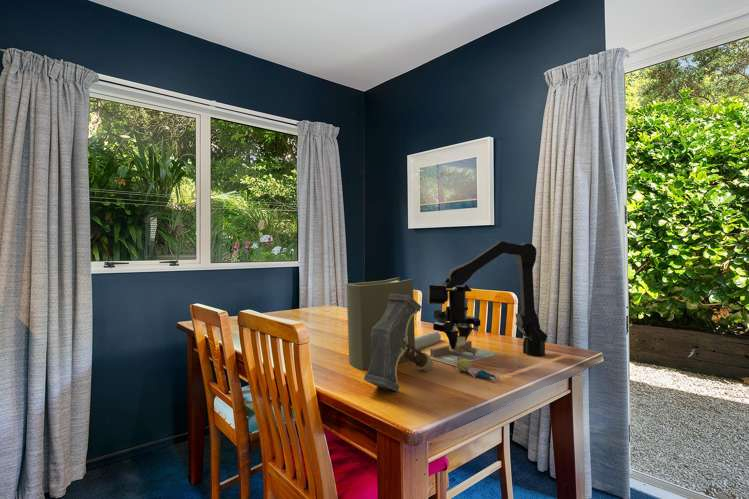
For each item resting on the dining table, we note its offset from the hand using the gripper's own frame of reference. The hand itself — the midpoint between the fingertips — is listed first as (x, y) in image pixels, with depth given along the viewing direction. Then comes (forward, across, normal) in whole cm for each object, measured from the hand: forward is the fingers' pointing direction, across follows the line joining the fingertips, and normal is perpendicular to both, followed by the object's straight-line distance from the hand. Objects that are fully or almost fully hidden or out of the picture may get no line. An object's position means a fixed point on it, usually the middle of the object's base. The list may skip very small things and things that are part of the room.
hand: (457, 348), depth 146 cm
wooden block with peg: (+1, 0, +3) cm, 3 cm away
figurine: (+4, +11, +18) cm, 21 cm away
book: (+4, +25, -12) cm, 28 cm away
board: (+3, -1, +2) cm, 4 cm away
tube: (+4, +1, -18) cm, 18 cm away
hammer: (+4, +32, +8) cm, 33 cm away
